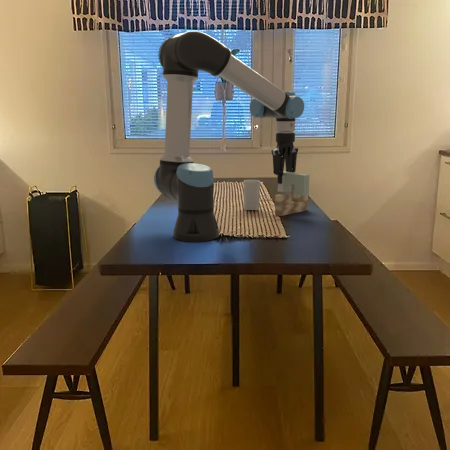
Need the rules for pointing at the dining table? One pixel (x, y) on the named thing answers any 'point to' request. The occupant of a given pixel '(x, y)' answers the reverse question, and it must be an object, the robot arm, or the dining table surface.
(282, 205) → the u-shaped wooden block
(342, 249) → the dining table surface
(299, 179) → the grey-green block
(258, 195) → the mug
